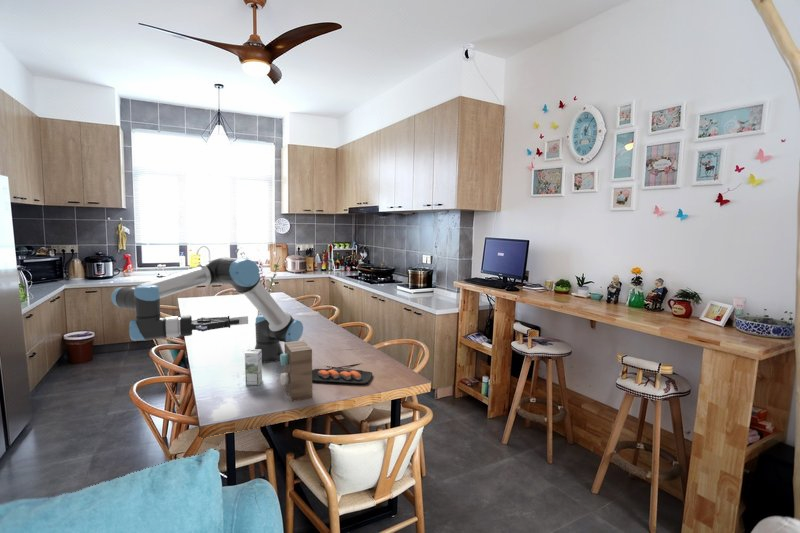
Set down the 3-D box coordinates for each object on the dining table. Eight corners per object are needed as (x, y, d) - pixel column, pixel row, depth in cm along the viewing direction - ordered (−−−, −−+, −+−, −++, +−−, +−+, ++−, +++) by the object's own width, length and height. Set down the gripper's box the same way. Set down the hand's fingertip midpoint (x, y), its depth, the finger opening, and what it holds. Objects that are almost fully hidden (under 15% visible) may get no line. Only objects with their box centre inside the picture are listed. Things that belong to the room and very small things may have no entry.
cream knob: (280, 382, 169) (280, 371, 169) (305, 379, 174) (305, 368, 173) (282, 386, 165) (282, 375, 165) (308, 382, 169) (308, 371, 169)
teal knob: (280, 363, 168) (280, 352, 168) (305, 360, 173) (305, 349, 172) (282, 367, 164) (282, 355, 164) (308, 363, 169) (307, 352, 168)
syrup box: (262, 380, 184) (262, 348, 182) (258, 385, 178) (257, 352, 177) (249, 380, 184) (248, 348, 182) (245, 385, 178) (244, 352, 176)
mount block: (285, 388, 175) (284, 342, 173) (304, 385, 178) (303, 340, 176) (292, 401, 162) (291, 351, 160) (312, 398, 166) (311, 349, 164)
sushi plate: (302, 383, 182) (302, 375, 182) (323, 361, 212) (323, 354, 212) (367, 387, 179) (367, 378, 179) (379, 364, 209) (379, 357, 208)
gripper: (180, 332, 158) (246, 325, 169) (179, 340, 147) (250, 333, 157) (179, 312, 158) (245, 307, 168) (178, 320, 146) (249, 313, 156)
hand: (247, 320), depth 163 cm, fingers closed
